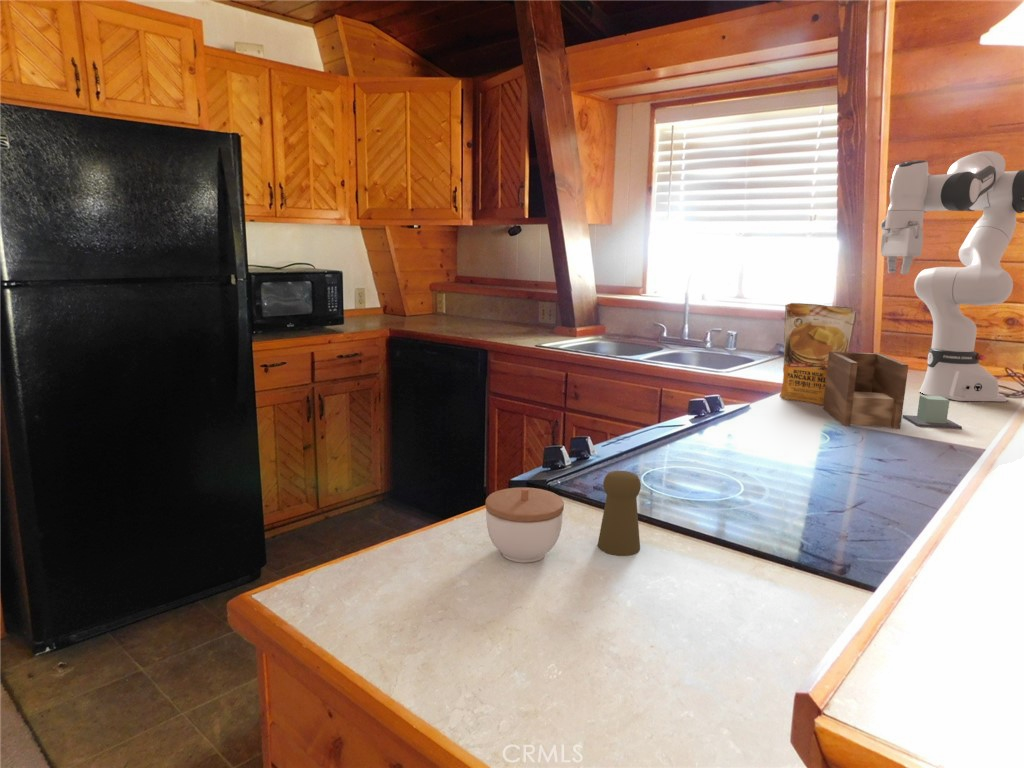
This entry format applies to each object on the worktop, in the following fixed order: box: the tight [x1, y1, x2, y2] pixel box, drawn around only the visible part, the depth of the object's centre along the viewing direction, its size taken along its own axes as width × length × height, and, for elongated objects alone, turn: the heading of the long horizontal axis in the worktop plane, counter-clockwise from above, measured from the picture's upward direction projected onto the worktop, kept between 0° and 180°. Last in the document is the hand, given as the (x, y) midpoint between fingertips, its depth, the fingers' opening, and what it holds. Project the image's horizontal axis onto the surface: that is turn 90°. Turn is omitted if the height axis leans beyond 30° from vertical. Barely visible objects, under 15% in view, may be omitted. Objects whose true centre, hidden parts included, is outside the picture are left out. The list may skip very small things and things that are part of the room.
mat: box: [902, 414, 963, 430], centre depth 174 cm, size 10×10×1 cm
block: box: [916, 394, 951, 423], centre depth 173 cm, size 5×5×6 cm
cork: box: [597, 470, 642, 557], centre depth 96 cm, size 6×6×11 cm
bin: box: [822, 351, 909, 430], centre depth 176 cm, size 13×20×16 cm, turn 170°
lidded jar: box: [485, 487, 565, 564], centre depth 93 cm, size 11×11×9 cm
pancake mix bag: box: [779, 302, 857, 406], centre depth 195 cm, size 7×19×28 cm, turn 45°
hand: (897, 273), depth 188 cm, fingers open, 8 cm apart
